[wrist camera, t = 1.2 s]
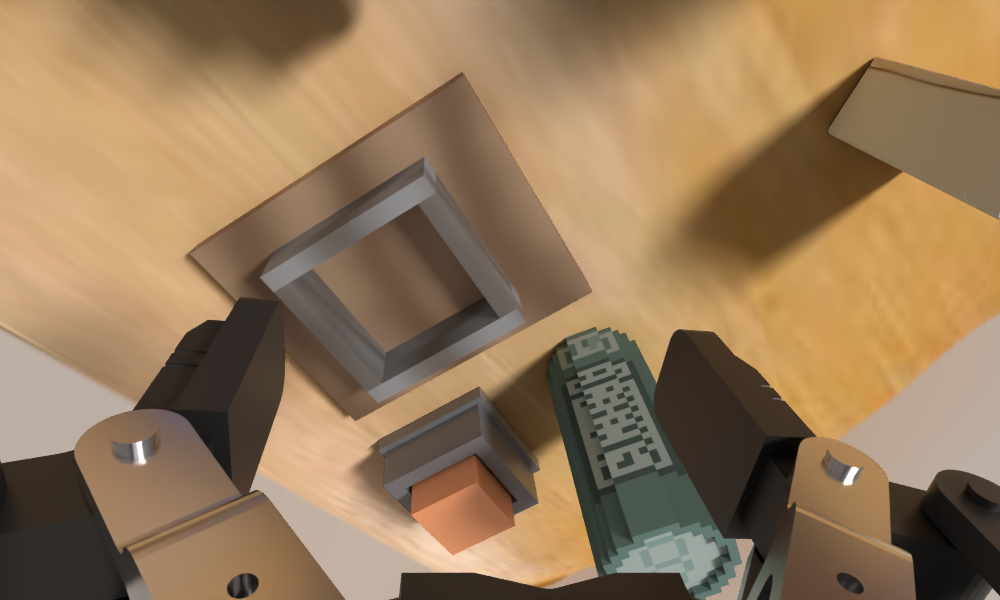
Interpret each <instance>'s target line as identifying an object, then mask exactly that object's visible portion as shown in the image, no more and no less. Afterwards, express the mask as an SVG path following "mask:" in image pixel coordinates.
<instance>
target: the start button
mask: <svg viewBox="0 0 1000 600" xmlns="http://www.w3.org/2000/svg"><path fill="white" fill-rule="evenodd" d="M411 516H412V517H413V518H414V519H415V520H416V521H418V522H419V523H420V524H421V525H422V526H423V527H424V528H425V529H426V530H427V531H428V532H429V533H430V534H431V535H432V536H433V537H434V538H435V539H436V540H437V541H438V542H439V543H440V544H442V545H443V546H444V547H445V548H446V549H447V550H448V551H449V552H450V553H451V554H452V555H454V554H456V553H458V552H460V551H463V550H465V549H467V548H469V547H471V546H473V545H475V544H477V543H479V542H481V541H484V540H486V539H488V538H490V537H492V536H494V535H496V534H498V533H500V532H502V531H505V530H507V529H509V528H511V527H513V526H515V522H514V515H513V507H512V500H511V493H510V491H509V490H508V489H507V488H506V487H505V486H504V485H503V483H502V482H501V481H500V480H499V479H498V478H497V477H496V475H495V474H494V473H493V472H492V471H491V470H490V469H489V467H488V466H487V465H486V464H485V463H484V462H483V461H482V459H481V458H480V457H479V456H478V455H477V454H476V453H475V454H473V455H471V456H469V457H467V458H465V459H463V460H461V461H459V462H457V463H455V464H453V465H451V466H449V467H447V468H445V469H443V470H441V471H439V472H437V473H435V474H433V475H431V476H429V477H427V478H426V479H424V480H422V481H420V482H418V483H416V484H414V485H412V502H411Z"/></svg>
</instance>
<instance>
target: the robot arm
mask: <svg viewBox="0 0 1000 600" xmlns="http://www.w3.org/2000/svg"><path fill="white" fill-rule="evenodd" d="M284 377H285V341H284V305H283V301H282V300H281V299H268V298H255V297H240V298H239V299H238V301H237V302H236V304H235V306H234V307H233V309H232V311H231V312H230V314H229V316H228V317H227V319H226V321H217V320H207V321H205V322H204V323H202V324H200V325H199V326H197V327H196V328H194V329H192V330H191V331H189V332H187V333H186V334H185V336H184V337H183V339H182V340H181V341H180V343H179V344H178V346H177V347H176V349H175V353H172V354H171V356H170V357H169V359H168V360H167V362H166V364H165V367H162V369H161V370H160V372H159V373H158V375H157V376H156V378H155V379H154V380H153V382H152V383H151V385H150V386H149V388H148V389H147V391H146V392H145V393H144V395H143V396H142V398H141V399H140V401H139V402H138V404H137V405H136V406H135V408H134V409H133V411H129V412H125V413H121V414H118V415H115V416H112V417H109V418H107V419H105V420H103V421H101V422H99V423H97V424H96V425H94V426H93V427H92V428H90V429H89V430H87V431H86V432H85V433H84V434H83V435H82V436H81V437H80V439H79V440H78V442H77V444H76V446H75V450H72V451H69V452H65V453H60V454H55V455H49V456H43V457H37V458H31V459H25V460H19V461H13V462H6V463H1V462H0V600H345V598H344V597H343V596H342V595H341V593H340V592H339V591H338V589H337V588H336V587H335V585H334V584H333V583H332V581H331V580H330V579H329V578H328V576H327V575H326V573H325V572H324V571H323V570H322V568H321V567H320V565H319V564H318V563H317V562H316V560H315V559H314V558H313V556H312V555H311V554H310V552H309V551H308V550H307V548H306V547H305V546H304V544H303V543H302V542H301V540H300V539H299V538H298V537H297V535H296V534H295V533H294V531H293V530H292V529H291V527H290V526H289V525H288V523H287V522H286V521H285V519H284V518H283V517H282V515H281V514H280V513H279V511H278V510H277V509H276V507H275V506H274V505H273V503H272V502H271V501H270V500H269V498H268V497H267V496H266V495H265V494H264V493H263V492H261V491H259V490H255V491H252V492H250V493H249V491H250V488H251V485H252V482H253V479H254V477H255V474H256V471H257V468H258V465H259V462H260V459H261V456H262V453H263V450H264V448H265V445H266V442H267V439H268V436H269V433H270V430H271V427H272V424H273V421H274V418H275V416H276V413H277V410H278V407H279V404H280V401H281V397H282V392H283V386H284ZM654 412H655V416H656V418H657V420H658V422H659V424H660V426H661V428H662V429H663V431H664V433H665V435H666V437H667V438H668V440H669V442H670V444H671V446H672V447H673V449H674V451H675V453H676V454H677V456H678V458H679V460H680V462H681V463H682V465H683V467H684V469H685V471H686V472H687V474H688V476H689V478H690V479H691V481H692V483H693V485H694V487H695V488H696V490H697V492H698V494H699V496H700V497H701V499H702V501H703V503H704V505H705V506H706V508H707V510H708V512H709V513H710V515H711V517H712V519H713V521H714V522H715V524H716V526H717V528H718V530H719V531H720V533H721V535H722V537H723V539H752V541H753V542H754V546H753V548H752V550H751V552H750V555H749V557H748V559H747V563H746V567H745V571H744V575H743V579H742V583H741V587H740V591H739V595H738V599H737V600H984V599H985V598H986V596H987V595H988V594H989V592H990V591H991V589H992V588H993V589H994V590H995V591H996V592H997V593H998V594H999V596H1000V486H998V485H996V484H994V483H993V482H990V481H988V480H986V479H984V478H981V477H979V476H976V475H973V474H970V473H967V472H963V471H957V470H943V471H941V472H939V473H938V474H937V475H936V476H935V478H934V480H933V481H932V483H931V485H930V486H929V488H928V490H927V491H924V490H920V489H916V488H912V487H908V486H904V485H900V484H896V483H892V482H889V481H888V477H887V475H886V473H885V472H884V470H883V469H882V468H881V467H880V466H879V465H878V464H877V463H876V462H875V461H874V460H873V459H872V458H870V457H869V456H868V455H866V454H865V453H863V452H861V451H860V450H858V449H856V448H854V447H852V446H850V445H848V444H846V443H843V442H840V441H837V440H834V439H830V438H824V437H816V435H815V434H814V433H813V432H812V431H811V430H810V429H809V428H808V427H807V425H806V424H805V423H804V422H803V421H802V420H801V419H800V418H799V417H798V415H797V414H796V413H795V412H794V411H793V410H792V409H791V408H790V407H789V405H788V404H787V403H786V402H785V401H781V397H780V395H779V394H778V393H777V392H776V391H775V390H774V389H773V388H770V384H769V383H768V382H767V381H766V380H765V379H764V378H763V377H762V375H761V374H760V373H759V372H758V371H757V370H756V369H755V368H753V367H752V366H750V365H749V364H747V363H746V362H744V361H743V360H741V359H740V358H738V357H737V356H735V355H734V354H733V353H732V352H731V351H730V349H729V348H728V347H727V346H726V345H725V344H724V343H723V341H722V340H721V339H720V338H719V337H718V336H717V335H716V334H715V333H714V332H709V331H695V330H681V329H679V330H677V331H675V332H674V334H673V335H672V337H671V340H670V342H669V346H668V349H667V352H666V355H665V359H664V362H663V365H662V368H661V372H660V375H659V378H658V381H657V385H656V388H655V392H654ZM390 600H700V599H698V598H694V597H690V595H689V593H688V590H687V588H686V586H685V584H684V581H683V579H682V577H681V575H680V573H612V574H608V575H605V576H601V577H597V578H593V579H590V580H586V581H582V582H578V583H574V584H570V585H567V586H563V587H559V588H554V589H545V588H539V587H535V586H531V585H526V584H522V583H517V582H513V581H508V580H504V579H499V578H495V577H491V576H486V575H482V574H477V573H402V574H401V584H400V593H399V597H398V598H394V599H390Z"/></svg>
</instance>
